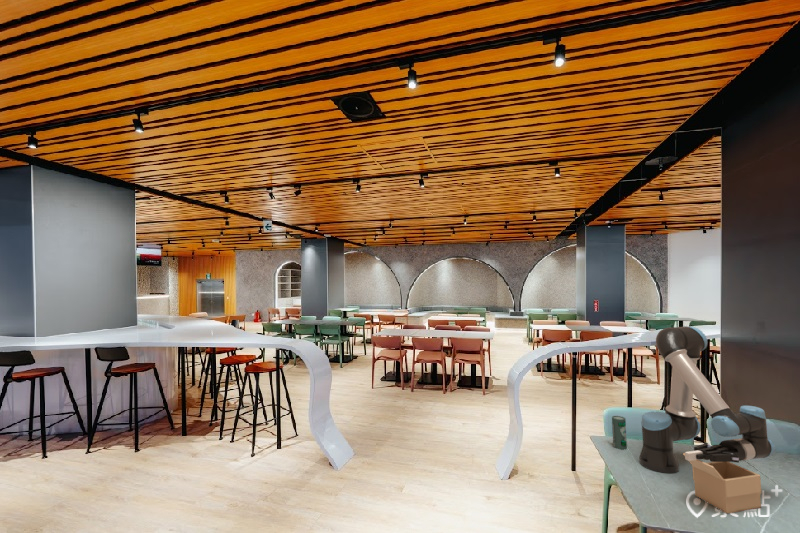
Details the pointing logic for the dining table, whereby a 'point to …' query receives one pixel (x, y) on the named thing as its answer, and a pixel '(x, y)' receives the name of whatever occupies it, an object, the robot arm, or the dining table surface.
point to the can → (619, 432)
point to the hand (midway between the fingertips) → (687, 456)
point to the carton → (729, 487)
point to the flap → (705, 468)
